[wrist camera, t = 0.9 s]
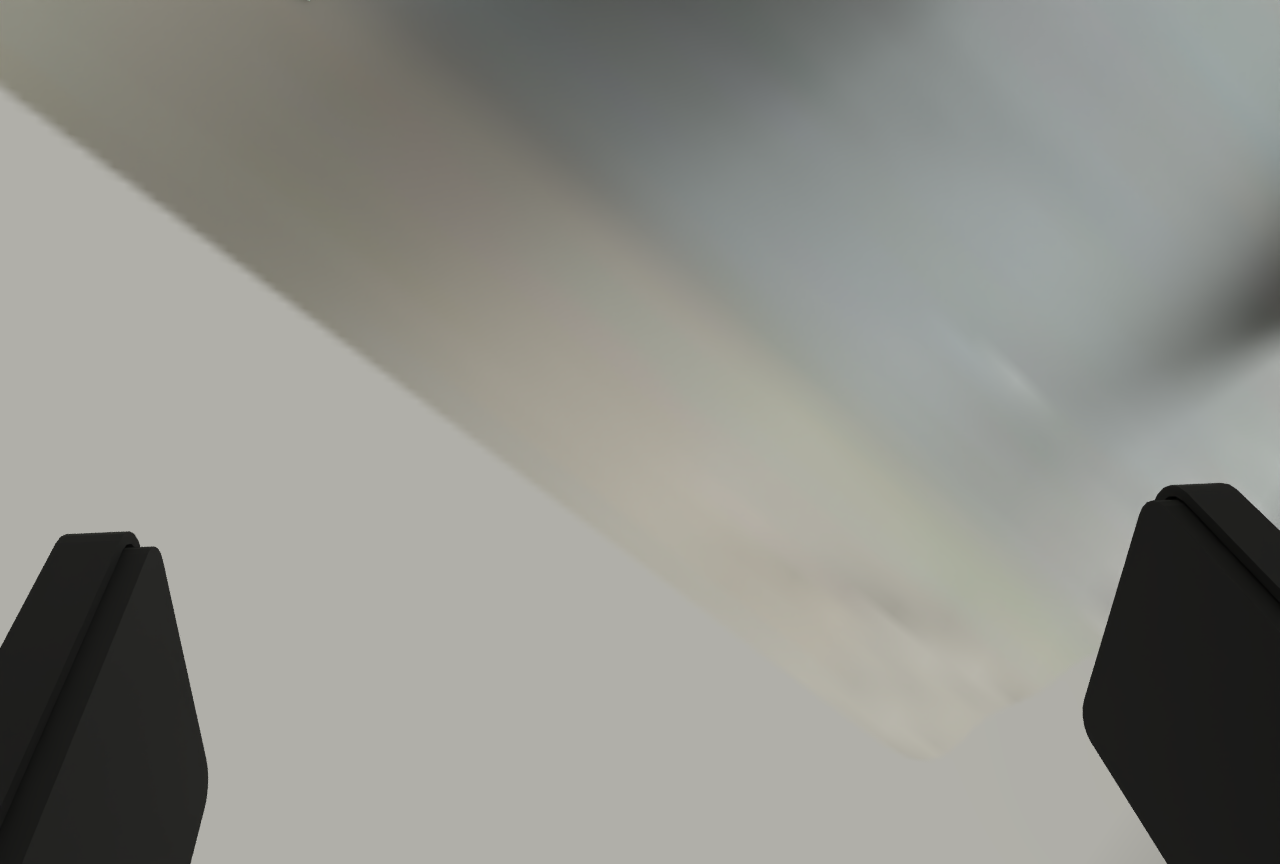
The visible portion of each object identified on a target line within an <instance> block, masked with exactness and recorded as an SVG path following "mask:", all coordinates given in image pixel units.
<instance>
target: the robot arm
mask: <svg viewBox="0 0 1280 864" xmlns="http://www.w3.org/2000/svg"><path fill="white" fill-rule="evenodd" d="M1083 721H1084V726H1085V729H1086V733H1087V735H1088V737H1089V739H1090V741H1091V743H1092V745H1093V746H1094V747H1095V749H1096V751H1097V753H1098V754H1099V756H1100V757H1101V759H1102V760H1103V762H1104V764H1105V765H1106V767H1107V768H1108V770H1109V772H1110V773H1111V775H1112V776H1113V778H1114V779H1115V781H1116V783H1117V784H1118V786H1119V788H1120V789H1121V791H1122V792H1123V794H1124V795H1125V797H1126V799H1127V800H1128V802H1129V804H1130V805H1131V807H1132V808H1133V810H1134V812H1135V813H1136V815H1137V816H1138V818H1139V819H1140V821H1141V823H1142V824H1143V826H1144V827H1145V829H1146V831H1147V832H1148V834H1149V835H1150V837H1151V839H1152V840H1153V842H1154V843H1155V845H1156V846H1157V848H1158V850H1159V851H1160V853H1161V855H1162V856H1163V858H1164V859H1165V861H1166V863H1167V864H1280V530H1279V529H1277V528H1276V527H1275V526H1274V525H1273V524H1272V523H1271V522H1270V521H1269V520H1268V519H1267V518H1266V517H1265V516H1264V515H1263V514H1262V513H1261V512H1260V511H1259V510H1258V509H1257V508H1256V507H1255V506H1254V505H1252V504H1251V503H1250V502H1249V501H1248V500H1247V499H1246V498H1245V497H1244V496H1243V495H1242V494H1241V493H1240V492H1239V491H1238V490H1237V489H1235V488H1234V487H1232V486H1231V485H1229V484H1224V483H1208V484H1186V485H1170V486H1167V487H1165V488H1163V489H1162V490H1161V491H1160V492H1159V493H1158V494H1157V497H1156V499H1155V500H1153V501H1150V502H1147V503H1146V504H1145V505H1144V506H1143V507H1142V510H1141V512H1140V514H1139V517H1138V521H1137V524H1136V527H1135V531H1134V534H1133V537H1132V541H1131V544H1130V548H1129V551H1128V554H1127V558H1126V561H1125V564H1124V568H1123V571H1122V574H1121V578H1120V581H1119V584H1118V588H1117V591H1116V595H1115V598H1114V601H1113V605H1112V608H1111V611H1110V615H1109V618H1108V621H1107V625H1106V628H1105V631H1104V635H1103V638H1102V641H1101V645H1100V648H1099V652H1098V655H1097V658H1096V662H1095V665H1094V668H1093V672H1092V675H1091V678H1090V682H1089V685H1088V688H1087V692H1086V695H1085V699H1084V703H1083ZM207 789H208V768H207V762H206V756H205V751H204V747H203V743H202V738H201V733H200V728H199V724H198V719H197V715H196V710H195V706H194V701H193V696H192V692H191V687H190V683H189V678H188V673H187V669H186V664H185V660H184V655H183V650H182V646H181V641H180V637H179V632H178V628H177V624H176V618H175V614H174V609H173V605H172V600H171V596H170V591H169V586H168V582H167V577H166V573H165V568H164V564H163V559H162V556H161V553H160V551H159V550H158V548H156V547H140V544H139V541H138V539H137V538H136V536H135V535H134V534H133V533H131V532H107V533H84V534H66V535H63V536H61V537H60V538H59V540H58V541H57V543H56V544H55V546H54V548H53V549H52V551H51V553H50V555H49V557H48V559H47V561H46V563H45V565H44V566H43V568H42V570H41V572H40V574H39V576H38V578H37V580H36V582H35V583H34V585H33V587H32V589H31V591H30V593H29V595H28V597H27V599H26V600H25V602H24V604H23V606H22V608H21V610H20V612H19V614H18V615H17V617H16V619H15V621H14V623H13V625H12V627H11V629H10V631H9V632H8V634H7V636H6V638H5V640H4V642H3V644H2V646H1V648H0V864H190V863H191V859H192V855H193V851H194V847H195V844H196V840H197V836H198V832H199V828H200V824H201V820H202V816H203V812H204V808H205V803H206V798H207Z"/></svg>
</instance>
